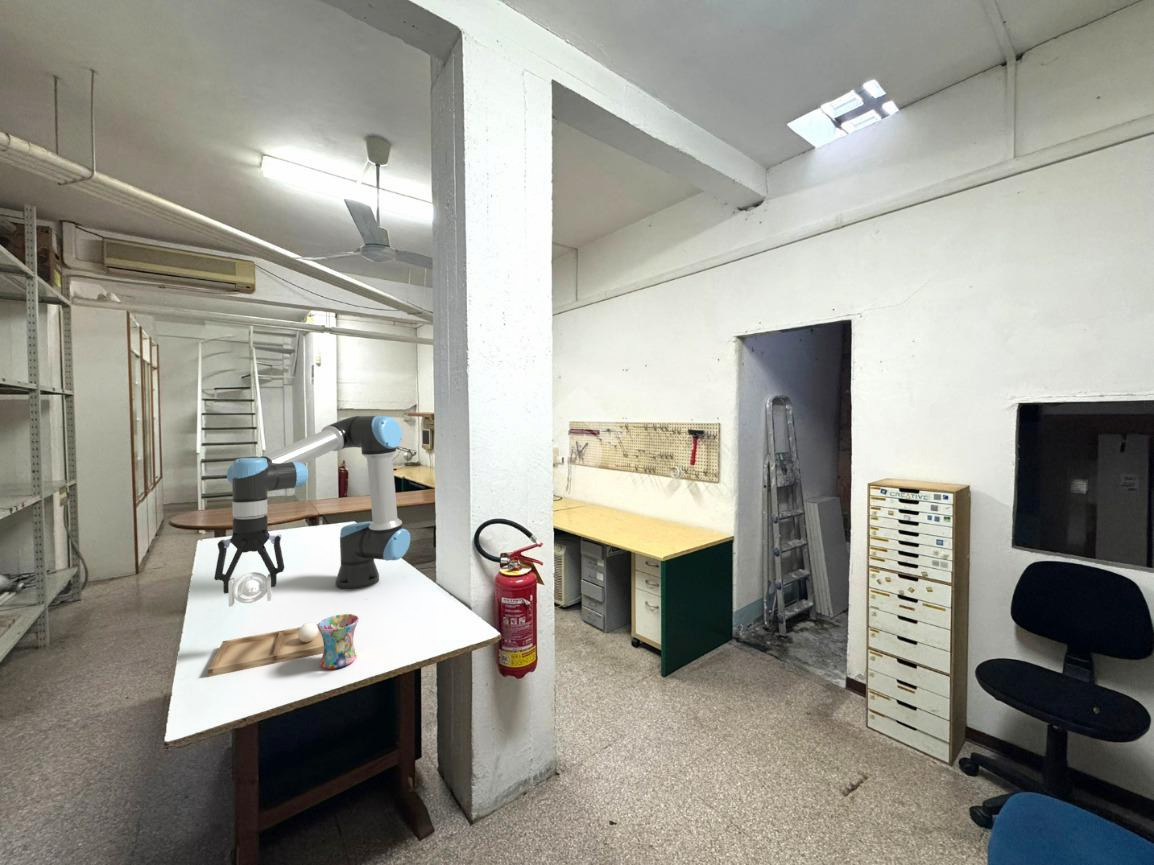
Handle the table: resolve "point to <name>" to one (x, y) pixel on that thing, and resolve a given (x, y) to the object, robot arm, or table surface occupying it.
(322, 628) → the floral vase
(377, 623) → the table surface
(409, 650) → the table surface
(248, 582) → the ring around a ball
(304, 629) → the ceramic egg
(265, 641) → the divided wooden tray
